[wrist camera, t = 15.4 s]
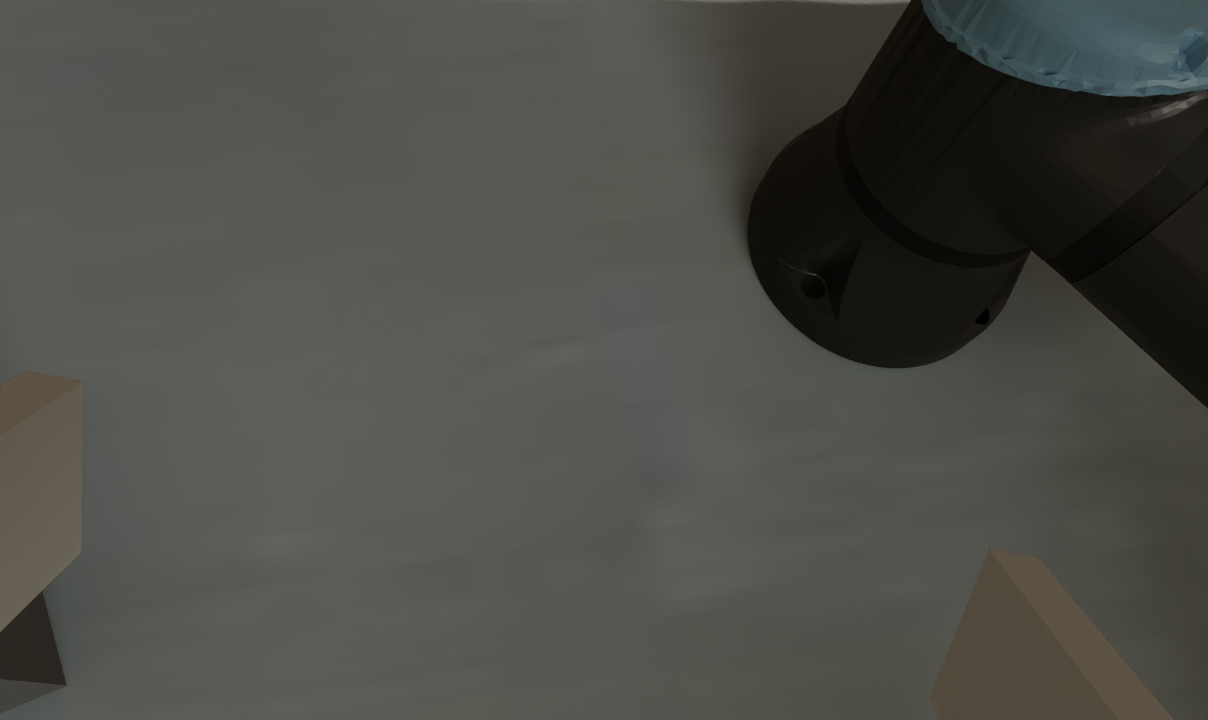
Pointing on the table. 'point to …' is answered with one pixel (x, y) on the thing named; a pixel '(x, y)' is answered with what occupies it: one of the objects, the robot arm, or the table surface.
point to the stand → (28, 657)
